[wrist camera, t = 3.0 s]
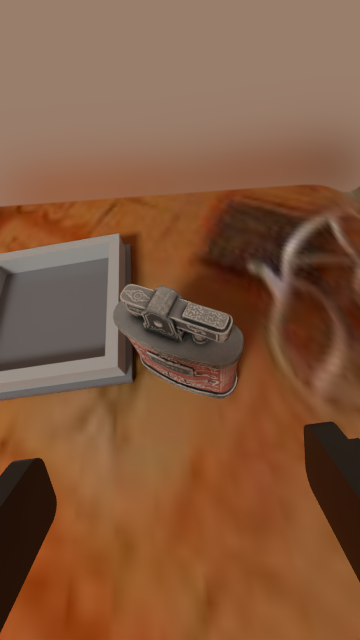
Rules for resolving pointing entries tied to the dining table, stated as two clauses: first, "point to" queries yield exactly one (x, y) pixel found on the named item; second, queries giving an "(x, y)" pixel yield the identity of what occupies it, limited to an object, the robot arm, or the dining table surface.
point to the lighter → (181, 339)
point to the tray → (63, 317)
